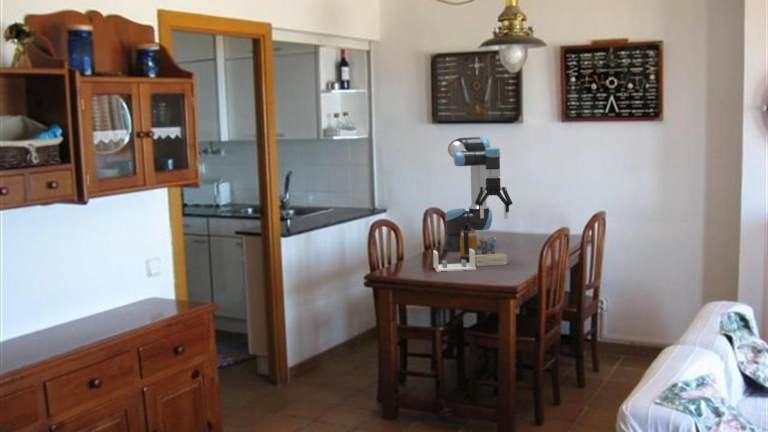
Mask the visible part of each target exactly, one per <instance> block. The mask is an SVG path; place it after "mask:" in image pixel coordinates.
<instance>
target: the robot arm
mask: <svg viewBox="0 0 768 432" xmlns="http://www.w3.org/2000/svg"><path fill="white" fill-rule="evenodd" d="M447 153H448V155H449V156H450V157H451V158H452V159H453V163H454V166H455V167H470V190H471V191H470V195H471V198H470V199H471V205H470V206H469V207H468V210H466V208H456V209H454V208H453V209H451V210H448V211H446V212H445V239H444V243H443V248H442V249H443V250H444V251H446V252H447V251H448V252H460V236H461V231H462V230H463V229H465V228H464V225H465V224H467V223H471V224H472V226H471V228H472V230H475V231H487V230H489V229H490V228H491V226H492V222H493V211H492V210H491V209H490V206H489V205H487V199H488V198H489V196H497V197H498V198H499V199H500V200H501V202H502V203H503V204H504V206H503V218H504V220H506V219H509V217H508V216H509V215H508V213H509V212H510V206H512V205H513V202H512V199H511V197H510V195H509V193H508V189H507V186H501V156H500V155H501V152H500V148H499V147H496V146H495V147H494V146H493V147H491V144H490V141H489V139H488V138H487V137H486V136H471V137H470V136H469V137H459V138H456V139H454V140H452V141H451V142H450V143H449V144H448V148H447ZM501 191H502V192H501ZM502 193H503V194H502ZM503 195H504V196H503Z"/></svg>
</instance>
